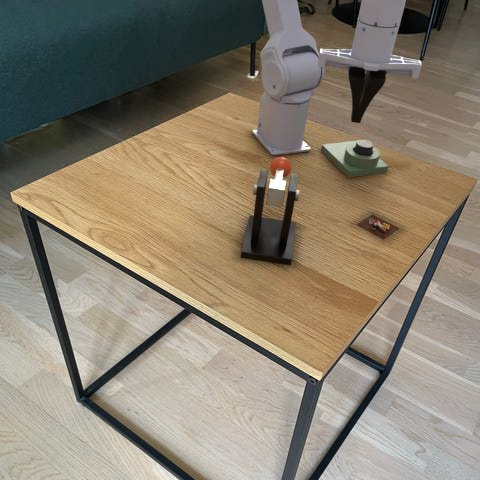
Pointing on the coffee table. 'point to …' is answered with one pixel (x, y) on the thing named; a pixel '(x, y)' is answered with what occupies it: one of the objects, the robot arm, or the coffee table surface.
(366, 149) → the button
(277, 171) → the lever
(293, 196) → the bracket
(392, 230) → the diorama
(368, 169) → the control block
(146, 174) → the coffee table surface
